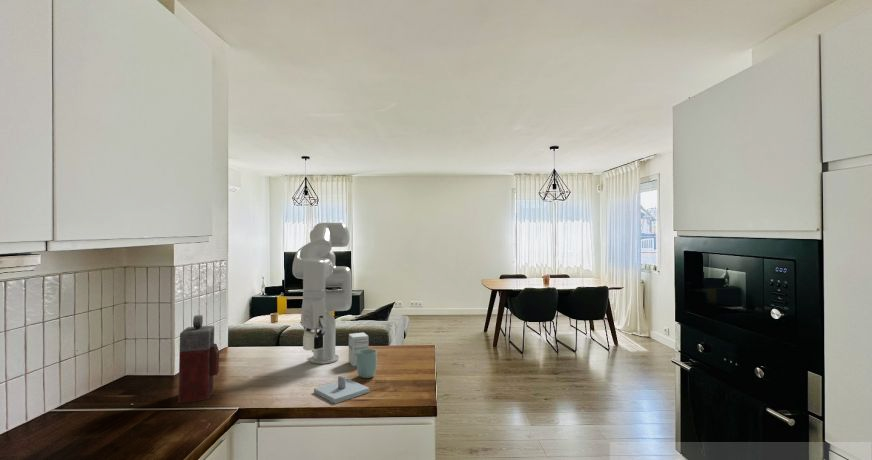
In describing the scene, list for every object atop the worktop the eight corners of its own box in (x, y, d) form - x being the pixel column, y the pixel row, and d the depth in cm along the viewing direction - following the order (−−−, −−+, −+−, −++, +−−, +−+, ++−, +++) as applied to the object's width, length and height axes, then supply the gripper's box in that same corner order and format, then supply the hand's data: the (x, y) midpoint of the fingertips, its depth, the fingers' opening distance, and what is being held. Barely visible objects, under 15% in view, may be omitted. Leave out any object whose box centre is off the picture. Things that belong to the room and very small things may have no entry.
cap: (300, 347, 138) (300, 331, 138) (317, 344, 142) (317, 329, 142) (309, 351, 133) (309, 335, 133) (326, 347, 138) (326, 332, 138)
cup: (366, 381, 151) (366, 355, 152) (352, 377, 156) (352, 352, 156) (380, 376, 158) (380, 351, 158) (367, 372, 162) (367, 347, 163)
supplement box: (348, 362, 176) (348, 333, 177) (364, 360, 179) (364, 332, 180) (351, 366, 170) (352, 337, 170) (368, 364, 173) (368, 335, 173)
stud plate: (313, 392, 140) (314, 376, 140) (347, 382, 150) (347, 368, 151) (335, 403, 131) (335, 386, 131) (369, 392, 141) (369, 376, 141)
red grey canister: (216, 398, 135) (217, 316, 136) (178, 402, 131) (180, 318, 132) (220, 389, 144) (221, 311, 144) (184, 393, 140) (186, 313, 140)
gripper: (293, 293, 142) (292, 343, 141) (316, 298, 129) (315, 353, 129) (312, 291, 147) (312, 339, 146) (336, 296, 135) (335, 349, 134)
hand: (313, 345), depth 138 cm, fingers closed on cap, 6 cm apart
